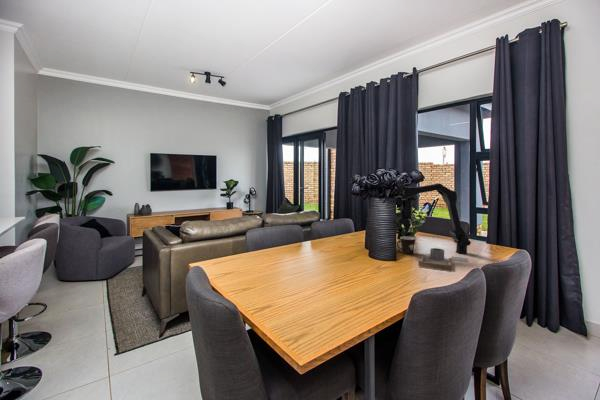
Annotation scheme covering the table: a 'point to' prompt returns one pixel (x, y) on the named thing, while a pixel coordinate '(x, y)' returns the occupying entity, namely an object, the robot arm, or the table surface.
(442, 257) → the tumbler
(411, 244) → the coffee mug
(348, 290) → the table surface
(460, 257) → the felt coaster
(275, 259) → the table surface
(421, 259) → the corral
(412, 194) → the robot arm
